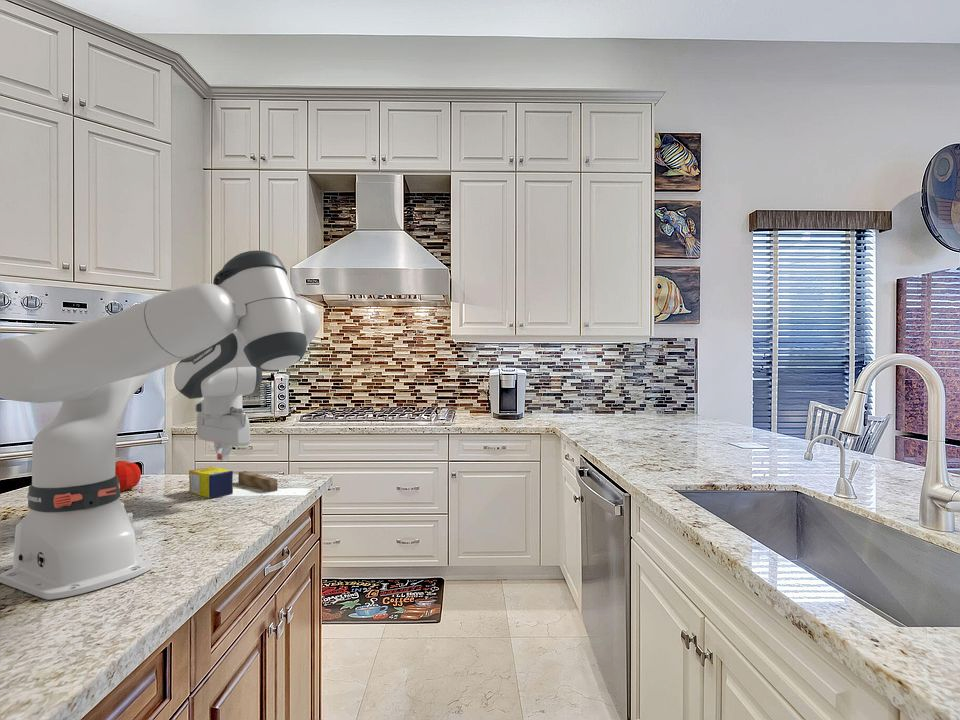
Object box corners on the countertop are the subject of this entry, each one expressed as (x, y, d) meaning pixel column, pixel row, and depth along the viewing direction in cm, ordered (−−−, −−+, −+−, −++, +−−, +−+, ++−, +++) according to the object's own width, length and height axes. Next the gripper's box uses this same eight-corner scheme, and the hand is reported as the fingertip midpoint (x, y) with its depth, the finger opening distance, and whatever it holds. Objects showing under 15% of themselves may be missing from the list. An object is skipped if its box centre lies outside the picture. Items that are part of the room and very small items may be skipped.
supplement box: (233, 470, 128) (211, 465, 134) (210, 475, 123) (188, 469, 129) (233, 493, 128) (210, 487, 134) (210, 499, 123) (188, 492, 129)
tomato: (88, 490, 131) (88, 462, 131) (137, 483, 138) (137, 457, 138) (92, 498, 123) (92, 469, 123) (144, 491, 130) (144, 463, 130)
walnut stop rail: (277, 490, 132) (277, 479, 132) (270, 491, 130) (270, 480, 130) (245, 481, 141) (245, 471, 141) (238, 482, 139) (238, 472, 139)
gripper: (257, 407, 122) (257, 463, 122) (216, 403, 134) (215, 453, 134) (232, 409, 117) (232, 467, 117) (191, 405, 129) (191, 457, 129)
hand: (223, 460), depth 126 cm, fingers closed
